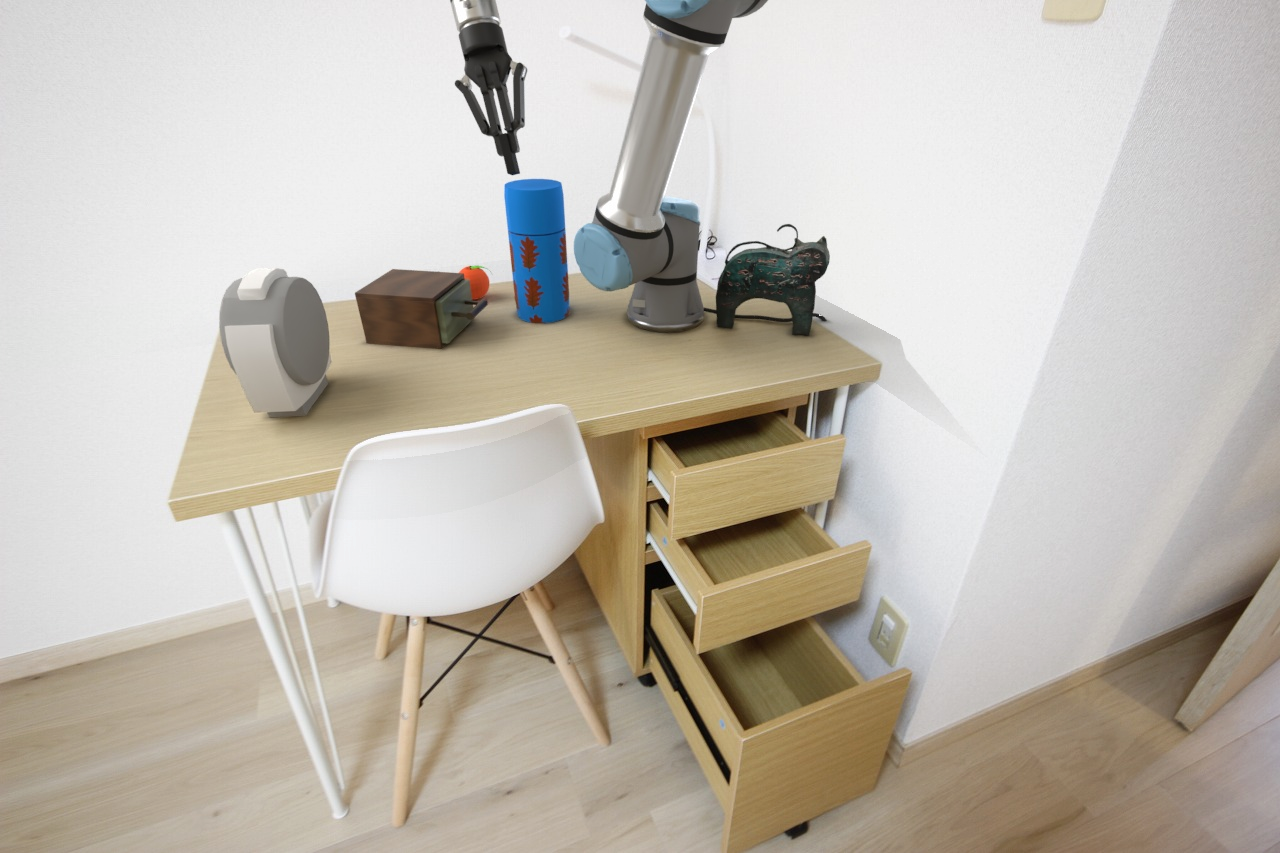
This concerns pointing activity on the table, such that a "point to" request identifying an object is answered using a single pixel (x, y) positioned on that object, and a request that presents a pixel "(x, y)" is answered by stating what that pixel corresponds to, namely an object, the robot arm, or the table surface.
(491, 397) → the table surface
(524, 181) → the thermos
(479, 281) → the clementine
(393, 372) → the table surface
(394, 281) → the cabinet
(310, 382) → the alarm clock
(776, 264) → the ceramic cat
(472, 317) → the drawer
